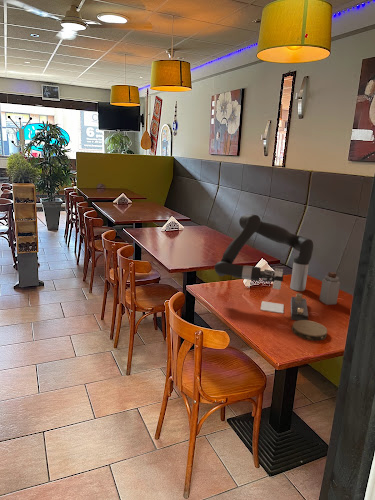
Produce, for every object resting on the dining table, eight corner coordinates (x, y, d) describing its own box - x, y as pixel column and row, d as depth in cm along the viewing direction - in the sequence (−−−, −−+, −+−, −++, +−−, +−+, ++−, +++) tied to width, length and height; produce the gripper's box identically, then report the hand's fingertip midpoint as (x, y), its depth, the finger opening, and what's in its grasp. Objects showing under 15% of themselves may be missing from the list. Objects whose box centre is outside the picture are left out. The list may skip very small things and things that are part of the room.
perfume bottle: (326, 304, 212) (331, 275, 208) (319, 300, 218) (324, 271, 214) (336, 304, 214) (341, 274, 209) (329, 299, 220) (334, 270, 216)
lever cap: (272, 285, 203) (275, 268, 200) (280, 286, 202) (282, 269, 199) (272, 288, 198) (275, 270, 196) (280, 289, 197) (282, 271, 195)
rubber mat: (261, 301, 211) (261, 301, 210) (283, 305, 208) (283, 304, 208) (260, 310, 199) (260, 309, 199) (283, 313, 197) (283, 312, 196)
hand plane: (290, 302, 213) (292, 292, 211) (305, 304, 211) (306, 294, 209) (291, 319, 190) (292, 308, 188) (307, 322, 188) (308, 311, 187)
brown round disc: (319, 326, 185) (320, 320, 184) (331, 342, 170) (332, 336, 169) (287, 324, 185) (288, 319, 184) (297, 340, 169) (298, 334, 168)
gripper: (250, 270, 194) (283, 275, 190) (253, 263, 208) (284, 267, 204) (249, 283, 196) (282, 288, 192) (251, 275, 210) (282, 280, 206)
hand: (282, 277), depth 198 cm, fingers closed on lever cap, 5 cm apart
